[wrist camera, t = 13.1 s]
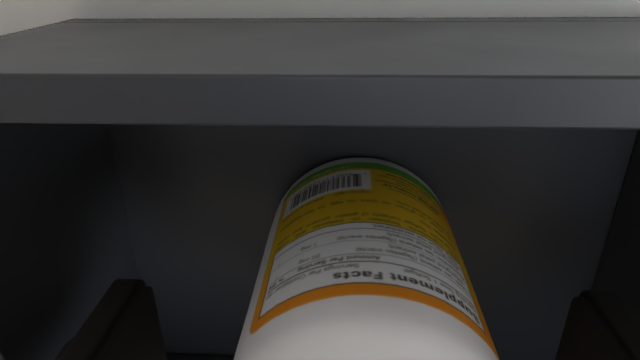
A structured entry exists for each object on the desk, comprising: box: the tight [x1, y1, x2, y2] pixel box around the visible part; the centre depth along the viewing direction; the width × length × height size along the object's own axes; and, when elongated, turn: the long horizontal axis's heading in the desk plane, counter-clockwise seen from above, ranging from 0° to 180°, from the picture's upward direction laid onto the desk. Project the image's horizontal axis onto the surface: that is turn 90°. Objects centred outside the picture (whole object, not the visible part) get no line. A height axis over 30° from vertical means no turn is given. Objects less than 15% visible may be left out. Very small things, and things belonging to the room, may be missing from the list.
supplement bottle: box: [233, 158, 500, 360], centre depth 11 cm, size 5×5×10 cm
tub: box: [0, 17, 640, 360], centre depth 13 cm, size 13×17×7 cm
